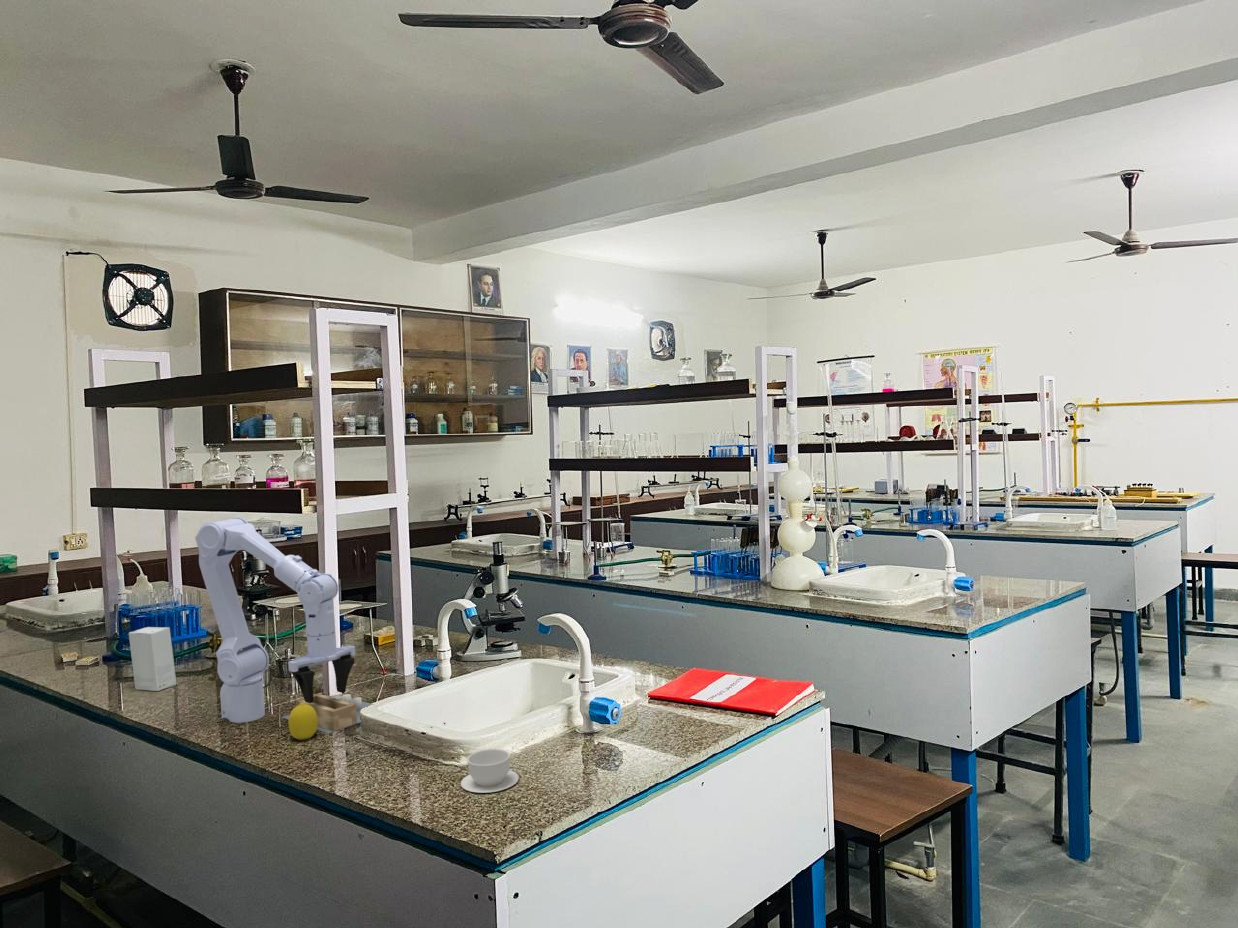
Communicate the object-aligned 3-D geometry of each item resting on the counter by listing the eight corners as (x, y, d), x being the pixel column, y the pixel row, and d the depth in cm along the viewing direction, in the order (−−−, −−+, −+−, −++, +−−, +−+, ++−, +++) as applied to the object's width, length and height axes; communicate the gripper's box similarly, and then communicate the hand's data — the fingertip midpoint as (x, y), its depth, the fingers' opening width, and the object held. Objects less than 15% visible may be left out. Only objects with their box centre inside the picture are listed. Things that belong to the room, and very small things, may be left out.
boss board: (281, 721, 187) (280, 705, 186) (346, 700, 199) (345, 685, 199) (328, 737, 175) (327, 720, 175) (394, 714, 188) (393, 699, 188)
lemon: (284, 744, 173) (281, 704, 173) (307, 735, 178) (305, 696, 177) (301, 749, 170) (298, 709, 169) (325, 739, 174) (322, 700, 174)
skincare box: (177, 685, 218) (172, 626, 217) (155, 692, 213) (151, 632, 212) (153, 682, 221) (149, 625, 221) (132, 689, 216) (127, 630, 215)
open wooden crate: (296, 718, 185) (295, 700, 185) (319, 711, 189) (318, 693, 189) (334, 731, 176) (332, 711, 176) (357, 723, 180) (355, 704, 180)
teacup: (504, 797, 144) (503, 770, 144) (450, 792, 147) (449, 765, 147) (527, 773, 154) (526, 747, 153) (476, 769, 156) (475, 743, 156)
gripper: (299, 643, 174) (304, 709, 174) (361, 627, 185) (366, 690, 186) (281, 639, 178) (285, 704, 179) (343, 624, 189) (347, 685, 190)
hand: (325, 696), depth 183 cm, fingers open, 7 cm apart
